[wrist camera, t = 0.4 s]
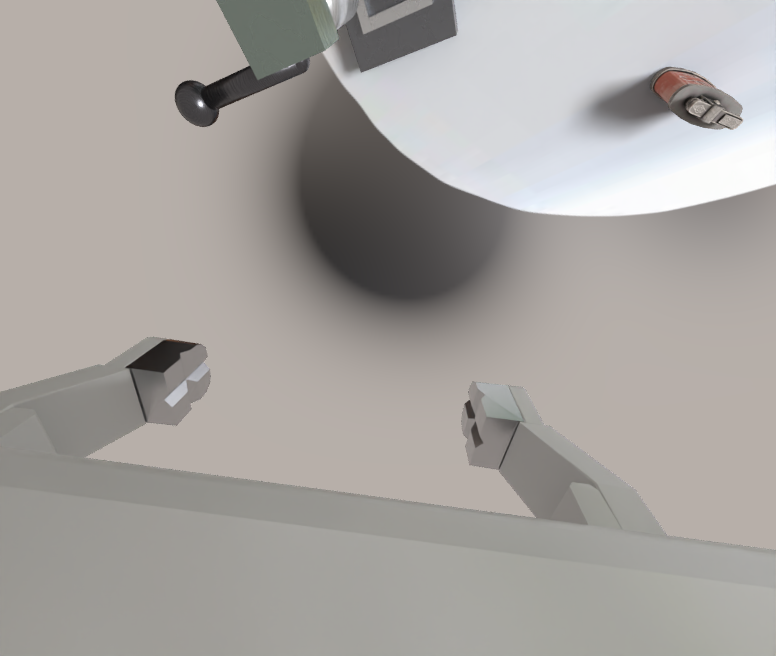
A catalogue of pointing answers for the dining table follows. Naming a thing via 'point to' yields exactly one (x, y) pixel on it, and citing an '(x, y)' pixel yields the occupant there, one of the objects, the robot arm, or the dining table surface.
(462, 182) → the dining table surface
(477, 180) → the dining table surface
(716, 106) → the lighter
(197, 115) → the press
